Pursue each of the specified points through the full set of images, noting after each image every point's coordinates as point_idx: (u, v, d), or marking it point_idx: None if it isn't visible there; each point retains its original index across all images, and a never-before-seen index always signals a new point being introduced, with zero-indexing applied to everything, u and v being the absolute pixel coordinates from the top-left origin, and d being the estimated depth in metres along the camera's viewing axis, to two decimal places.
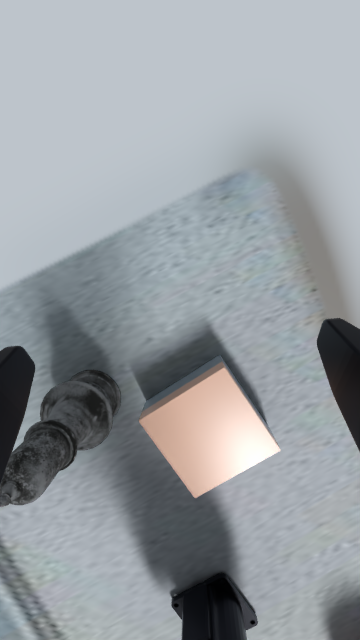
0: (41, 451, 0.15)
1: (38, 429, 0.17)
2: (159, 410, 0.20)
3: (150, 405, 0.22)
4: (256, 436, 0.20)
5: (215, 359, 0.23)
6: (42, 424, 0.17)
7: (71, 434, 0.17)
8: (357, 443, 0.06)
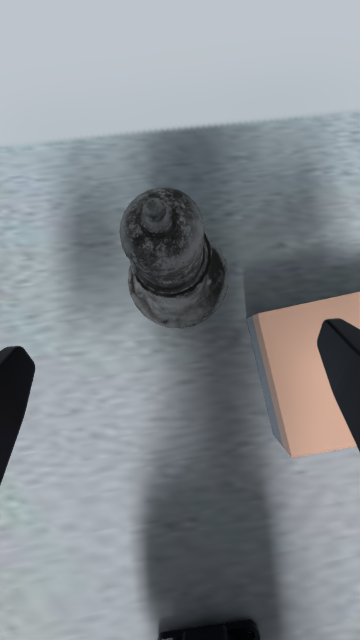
0: None
1: None
2: (291, 309, 0.15)
3: None
4: None
5: None
6: None
7: (210, 249, 0.11)
8: (357, 443, 0.06)
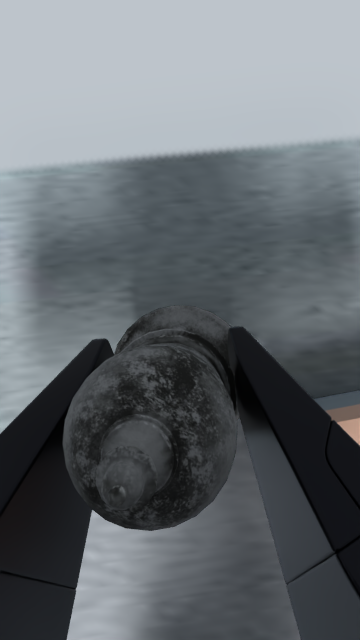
0: (219, 378, 0.05)
1: (170, 342, 0.07)
2: (342, 426, 0.10)
3: None
4: None
5: None
6: (180, 336, 0.07)
7: (234, 386, 0.07)
8: (249, 449, 0.07)
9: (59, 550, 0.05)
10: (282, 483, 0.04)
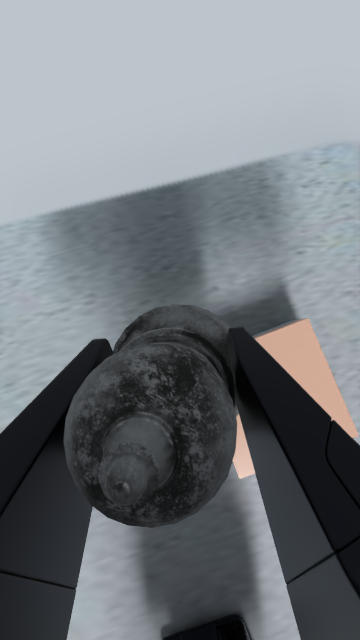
0: (219, 376, 0.05)
1: (169, 340, 0.07)
2: None
3: None
4: (331, 411, 0.17)
5: (285, 322, 0.20)
6: (179, 335, 0.07)
7: (233, 384, 0.07)
8: (249, 449, 0.07)
9: (59, 550, 0.05)
10: (282, 483, 0.04)
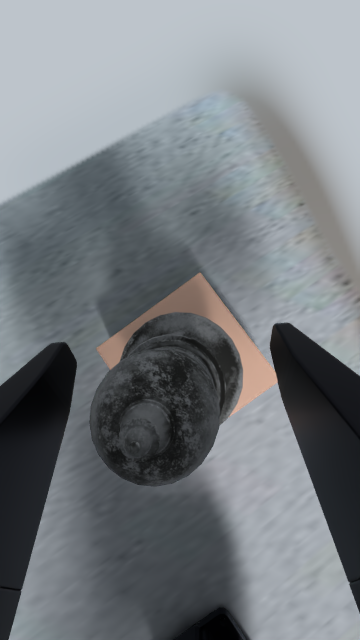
0: (208, 374, 0.06)
1: (170, 345, 0.08)
2: (122, 333, 0.16)
3: None
4: (247, 361, 0.16)
5: None
6: (179, 340, 0.08)
7: (224, 382, 0.08)
8: (300, 446, 0.07)
9: None
10: (359, 479, 0.04)
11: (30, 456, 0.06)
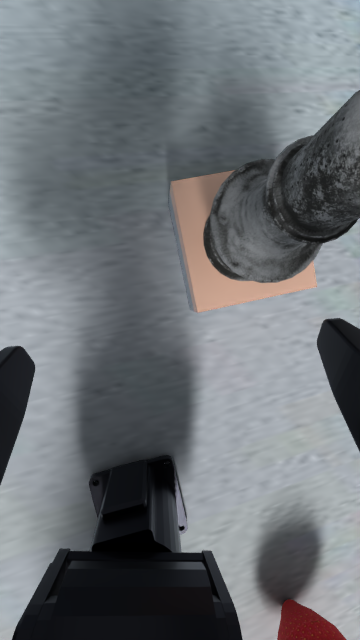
0: None
1: None
2: (202, 179, 0.16)
3: None
4: None
5: None
6: None
7: None
8: (357, 443, 0.06)
9: None
10: None
11: None
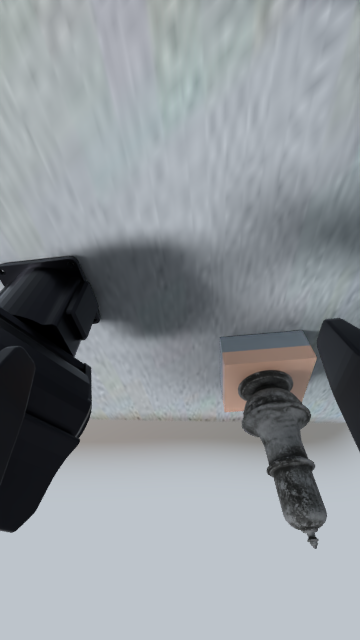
0: None
1: None
2: (310, 371, 0.24)
3: None
4: (243, 406, 0.28)
5: None
6: None
7: None
8: (357, 443, 0.06)
9: None
10: None
11: None
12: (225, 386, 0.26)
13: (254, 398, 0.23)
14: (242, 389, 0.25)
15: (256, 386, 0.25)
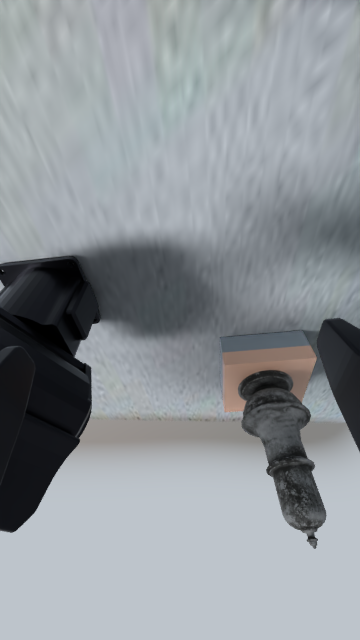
0: None
1: None
2: (310, 371, 0.24)
3: None
4: (243, 406, 0.28)
5: None
6: None
7: None
8: (357, 443, 0.06)
9: None
10: None
11: None
12: (225, 386, 0.26)
13: (254, 398, 0.23)
14: (242, 389, 0.25)
15: (256, 386, 0.25)
